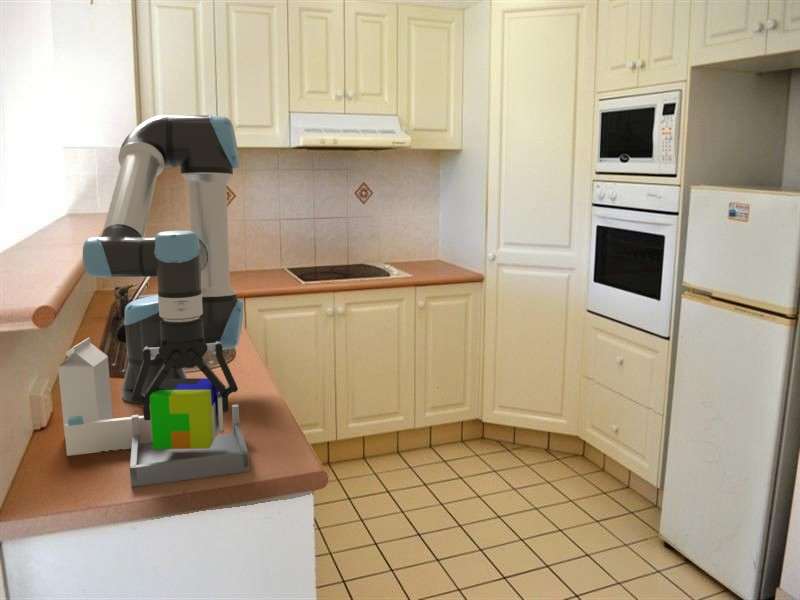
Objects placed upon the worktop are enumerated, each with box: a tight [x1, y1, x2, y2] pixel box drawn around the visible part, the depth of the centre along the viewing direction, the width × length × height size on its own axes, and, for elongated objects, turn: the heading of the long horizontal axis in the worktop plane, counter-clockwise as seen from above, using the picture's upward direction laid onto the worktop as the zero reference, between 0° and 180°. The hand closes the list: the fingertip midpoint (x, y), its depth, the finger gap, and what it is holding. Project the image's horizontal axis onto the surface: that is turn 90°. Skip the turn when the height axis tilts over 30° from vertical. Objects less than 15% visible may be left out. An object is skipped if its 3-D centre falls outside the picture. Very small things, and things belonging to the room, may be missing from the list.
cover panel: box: [63, 415, 153, 457], centre depth 137 cm, size 1×18×7 cm, turn 108°
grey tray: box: [129, 404, 250, 488], centre depth 132 cm, size 16×20×7 cm
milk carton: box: [57, 337, 114, 435], centre depth 144 cm, size 7×7×19 cm
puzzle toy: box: [150, 377, 220, 449], centre depth 131 cm, size 10×10×10 cm
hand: (187, 432), depth 132 cm, fingers closed on puzzle toy, 11 cm apart
